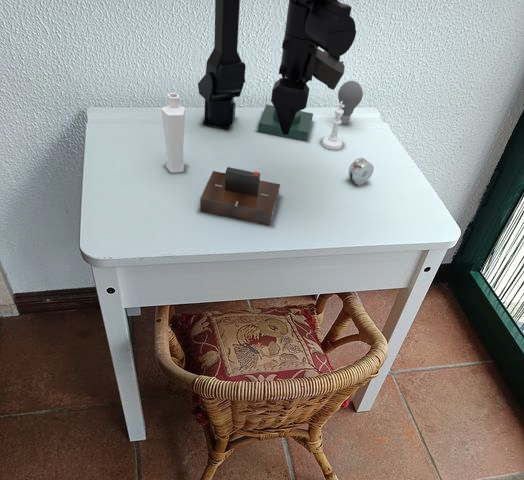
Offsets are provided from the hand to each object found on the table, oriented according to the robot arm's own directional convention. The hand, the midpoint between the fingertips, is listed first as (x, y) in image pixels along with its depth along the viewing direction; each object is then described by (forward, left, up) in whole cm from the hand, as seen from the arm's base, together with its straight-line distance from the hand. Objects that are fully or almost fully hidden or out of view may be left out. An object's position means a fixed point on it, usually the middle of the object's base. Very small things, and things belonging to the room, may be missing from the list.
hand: (288, 123), depth 95 cm
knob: (-6, -11, -9) cm, 16 cm away
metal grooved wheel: (+17, +6, -13) cm, 22 cm away
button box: (-2, +24, -13) cm, 27 cm away
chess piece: (+10, +20, -13) cm, 25 cm away
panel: (-6, -11, -13) cm, 18 cm away
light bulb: (+12, +32, -13) cm, 36 cm away
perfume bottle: (-22, -3, -13) cm, 26 cm away
